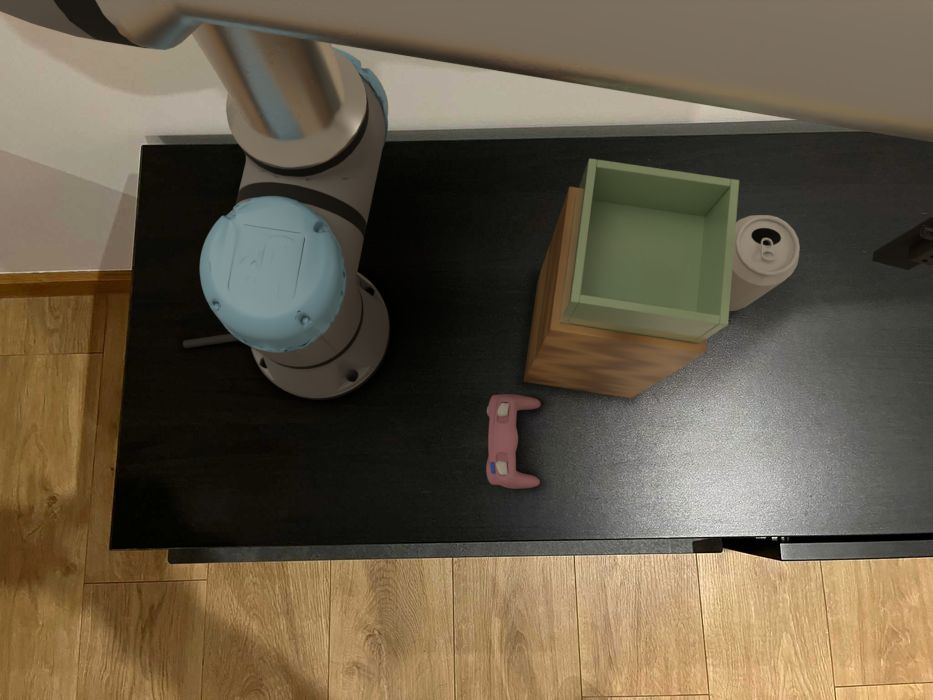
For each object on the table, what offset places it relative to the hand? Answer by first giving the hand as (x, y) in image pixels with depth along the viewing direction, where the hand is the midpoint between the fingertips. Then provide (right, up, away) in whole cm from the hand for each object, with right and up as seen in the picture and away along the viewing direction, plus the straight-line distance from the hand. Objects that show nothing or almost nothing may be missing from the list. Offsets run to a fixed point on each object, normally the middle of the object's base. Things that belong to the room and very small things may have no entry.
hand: (903, 180), depth 53 cm
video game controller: (-28, -23, +22) cm, 43 cm away
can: (-4, -5, +26) cm, 27 cm away
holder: (-20, -7, +1) cm, 21 cm away
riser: (-20, -12, +25) cm, 34 cm away
